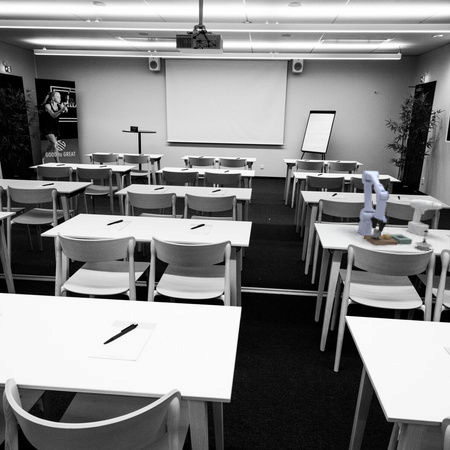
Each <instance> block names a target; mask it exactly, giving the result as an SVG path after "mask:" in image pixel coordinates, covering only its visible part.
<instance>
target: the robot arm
mask: <svg viewBox="0 0 450 450" xmlns="http://www.w3.org/2000/svg"><path fill="white" fill-rule="evenodd" d="M379 178H380V173H379V171H378V170H363V172H362V174H361V183H362V184H363V193H364V194H363V198H364V199H363V200H364V203H363V205H364V208H362V209H361V210H360V212H359V220H360V221H359V222H358V226H357V228H358V229H357V230H356V232H357V233H358V234H360V235H361V236H372V235H373V233H372V230H374V229H377V226H378V230H379V232H380V233H382V232H383V231H384V229H385V227H386V226H387V224H388V222H387V221H388V219H387V217H386V216H385V212H386V206H387V201H389V199H390V194H389V191H388V190H387V191H386V189H385V188H384V185H383V184H382V183H380V180H379ZM372 185H373V187H372ZM372 189H373V190H374V192H375V194H376V195H375V204H376V205H375V209H374V208H373V199H372V198H373V197H372V196H373V195H372V193H373V191H372Z"/></svg>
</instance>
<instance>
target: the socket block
mask: <svg viewBox="0 0 450 450" xmlns="http://www.w3.org/2000/svg"><path fill="white" fill-rule="evenodd" d="M363 239H364V240H365V239H366V241H368V242H369V243H371V244H372V245H374V246H390V245H391V246H394V245H395V246H398V242H397V241H395V240H393V239H392V238H390V239H384V236H383V234H382V235H380V236H379V240H373V235H363Z"/></svg>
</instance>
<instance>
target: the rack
mask: <svg viewBox="0 0 450 450" xmlns="http://www.w3.org/2000/svg"><path fill="white" fill-rule="evenodd" d="M389 234H390V235H392V237H390V238H392V239H393V240H395V241H397V242H398V243H397V245H412V242H413V239H412V238H410V237H408V236H406V235H403V234H402V233H396V234H395V233H393V234H392V233H389Z"/></svg>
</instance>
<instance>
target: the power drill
mask: <svg viewBox="0 0 450 450" xmlns="http://www.w3.org/2000/svg"><path fill="white" fill-rule="evenodd" d="M409 205H410V207H411V208H413V209H414V213H413V217H412V221H408V224H407V232H408V233H411V234H414V235H417V236H420V235H421V237H422V236H423V237H426V236H427V235H428V233H426V232H424V231H425V230H427V231H428V232H429V227H430V225H428V224H425V223H423V222H421V218H422V215H425V212H426V211H428V210H442V209H443V207H444V206H443V204H442V203H440V202H436V201H432V200H427V199H418V198H417V199H414V198H413V199H411V200H410V201H409ZM425 233H426V235H425Z"/></svg>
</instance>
